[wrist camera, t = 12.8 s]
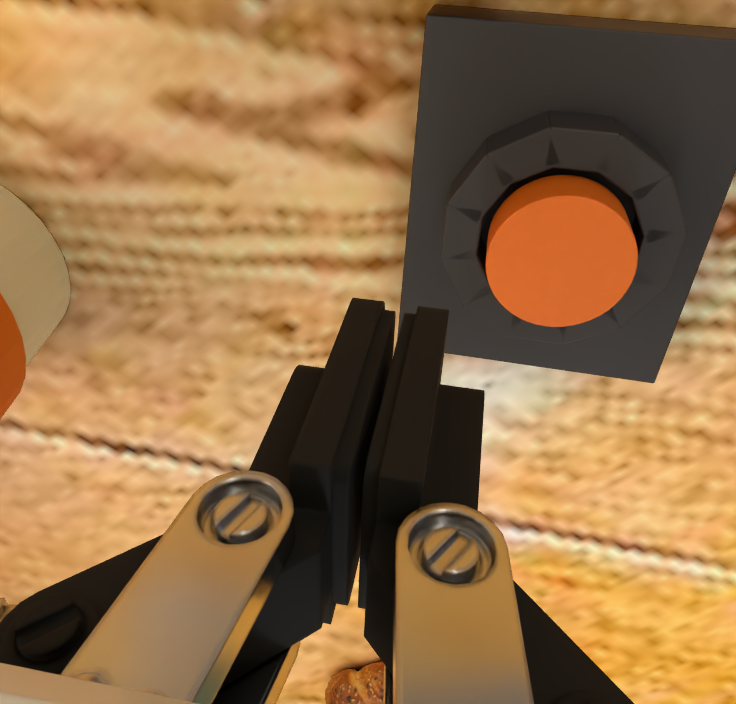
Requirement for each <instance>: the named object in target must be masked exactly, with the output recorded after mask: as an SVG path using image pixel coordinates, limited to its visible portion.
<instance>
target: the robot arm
mask: <svg viewBox="0 0 736 704" xmlns="http://www.w3.org/2000/svg"><path fill="white" fill-rule="evenodd" d="M448 318H449V310H448V309H440V308H432V307H424V306H418V308H417V312H416V314H412V313H404V316H403V320H402V324H401V328H400V332H399V336H398V340H397V344H396V348H395V352H394V356H393V345H394V330H395V311H389V310H385V303H384V302H383V301H375V300H367V299H359V298H352V300H351V302H350V305H349V307H348V310H347V313H346V315H345V318H344V320H343V323H342V325H341V328H340V330H339V333H338V336H337V338H336V341H335V343H334V346H333V348H332V351H331V354H330V356H329V359H328V361H327V364H326V366H325V368H318V367H311V366H304V365H298V366H297V367H296V368H295V370H294V372H293V374H292V376H291V378H290V381H289V383H288V385H287V387H286V389H285V392H284V394H283V396H282V398H281V401H280V403H279V405H278V407H277V409H276V412H275V414H274V416H273V418H272V421H271V423H270V425H269V427H268V429H267V432H266V434H265V436H264V438H263V441H262V443H261V445H260V447H259V449H258V452H257V454H256V456H255V458H254V461H253V463H252V465H251V467H250V469H249V470H245V471H233V472H229V473H226V474H223V475H220V476H217V477H215V478H213V479H212V480H210V481H208V482H207V483H205V484H203V485H202V486H201V487H200V488H199V489H198V490H197V491H196V492H195V493H194V494H193V495H192V497H191V498H190V499H189V501H188V502H187V503H186V505H185V506H184V507H183V509H182V510H181V512H180V513H179V514H178V516H177V517H176V518H175V520H174V521H173V522H172V524H171V525H170V526H169V528H168V529H167V531H166V532H165V533H164V534H163V535H161V536H159V537H156V538H154V539H152V540H150V541H148V542H146V543H143V544H141V545H139V546H137V547H135V548H133V549H130V550H128V551H126V552H124V553H122V554H119V555H117V556H115V557H113V558H111V559H109V560H106V561H104V562H102V563H100V564H98V565H96V566H93V567H91V568H89V569H87V570H85V571H83V572H80V573H78V574H76V575H74V576H72V577H69V578H67V579H65V580H63V581H61V582H59V583H56V584H54V585H52V586H50V587H48V588H46V589H43V590H41V591H39V592H37V593H35V594H34V595H32V596H30V597H29V598H27V599H25V600H24V601H22V602H20V603H19V604H18V605H8V604H7V602H6V600H5V598H0V704H276V702H277V699H278V697H279V695H280V693H281V691H282V688H283V686H284V684H285V682H286V679H287V677H288V675H289V673H290V670H291V668H292V666H293V664H294V662H295V659H296V657H297V654H298V650H299V647H300V641H301V640H302V639H304V638H306V637H307V636H309V635H311V634H312V633H314V632H315V631H317V630H319V629H320V628H321V627H322V624H323V623H327V624H331V622H332V618H333V614H334V610H335V606H336V603H337V604H342V605H348V603H349V600H350V596H351V592H352V588H353V583H354V579H355V575H356V570H357V566H358V561H359V557H360V571H359V595H358V607H359V608H364V609H365V627H364V637H365V638H366V640H367V641H368V642H369V644H370V645H371V646H372V648H373V649H374V651H375V652H376V653H377V655H378V656H379V658H380V659H381V660H382V662H383V663H384V665H385V666H384V697H383V704H634V703H633V702H632V701H631V700H630V699H629V698H628V697H627V696H626V695H625V694H624V693H623V692H622V691H621V690H620V689H619V688H618V687H617V686H616V685H615V684H614V683H613V682H612V681H611V680H610V679H609V678H608V676H607V675H606V674H605V673H604V672H603V671H602V670H601V669H600V668H599V667H598V666H597V665H596V664H595V663H594V662H593V661H592V660H591V659H590V658H589V657H588V656H587V655H586V654H585V653H584V652H583V651H582V650H581V649H580V648H579V647H578V646H577V645H576V644H575V643H574V642H573V641H572V640H571V639H570V638H569V637H568V636H567V635H566V634H565V633H564V632H563V631H562V629H561V628H560V627H559V626H558V625H557V624H556V623H555V622H554V621H553V620H552V619H551V618H550V617H549V616H548V615H547V614H546V613H545V612H544V611H543V610H542V609H541V608H540V607H539V606H538V605H537V604H536V603H535V602H534V601H533V600H532V599H531V598H530V597H529V596H528V595H527V594H526V593H525V592H524V591H523V590H522V589H521V588H520V587H519V586H518V585H517V583H516V582H515V581H514V580H513V576H512V570H511V564H510V558H509V553H508V548H507V545H506V542H505V539H504V536H503V534H502V533H501V531H500V530H499V529H498V527H497V526H496V525H495V523H494V522H493V521H492V520H490V519H489V518H488V517H486V516H485V515H484V514H482V513H481V512H480V511H478V494H479V478H480V461H481V444H482V428H483V411H484V390H477V389H469V388H462V387H455V386H448V385H441V384H440V382H441V374H442V366H443V358H444V350H445V342H446V334H447V326H448Z"/></svg>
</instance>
